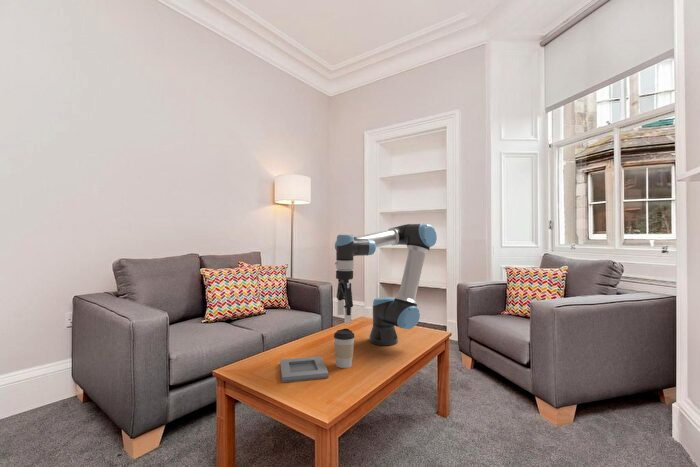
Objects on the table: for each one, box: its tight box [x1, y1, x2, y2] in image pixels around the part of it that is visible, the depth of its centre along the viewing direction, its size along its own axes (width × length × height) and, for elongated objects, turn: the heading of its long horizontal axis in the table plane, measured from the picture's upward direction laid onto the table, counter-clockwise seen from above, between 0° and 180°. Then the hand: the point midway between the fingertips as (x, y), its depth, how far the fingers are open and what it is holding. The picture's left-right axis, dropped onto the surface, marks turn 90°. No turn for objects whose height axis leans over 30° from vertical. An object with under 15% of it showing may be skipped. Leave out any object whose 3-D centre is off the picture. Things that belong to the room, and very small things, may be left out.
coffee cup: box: [333, 328, 355, 369], centre depth 144 cm, size 9×9×15 cm
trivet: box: [279, 355, 329, 383], centre depth 138 cm, size 18×18×2 cm
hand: (344, 318), depth 144 cm, fingers open, 13 cm apart
